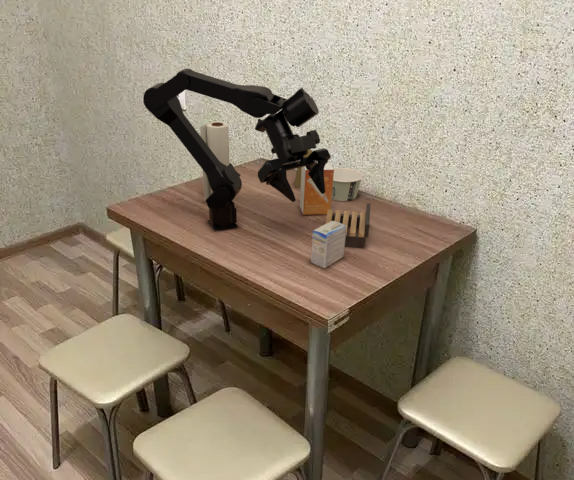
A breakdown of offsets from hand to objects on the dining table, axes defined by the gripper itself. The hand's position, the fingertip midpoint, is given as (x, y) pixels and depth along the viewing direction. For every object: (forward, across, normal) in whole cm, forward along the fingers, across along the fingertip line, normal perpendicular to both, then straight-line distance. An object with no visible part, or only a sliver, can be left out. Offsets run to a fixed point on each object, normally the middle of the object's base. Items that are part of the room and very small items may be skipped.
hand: (309, 197), depth 137 cm
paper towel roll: (-19, 0, +38) cm, 43 cm away
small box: (-3, +18, +22) cm, 28 cm away
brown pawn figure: (-15, +28, +35) cm, 47 cm away
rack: (+9, +14, +10) cm, 19 cm away
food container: (-6, +32, +25) cm, 41 cm away
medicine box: (+15, 0, +4) cm, 16 cm away
